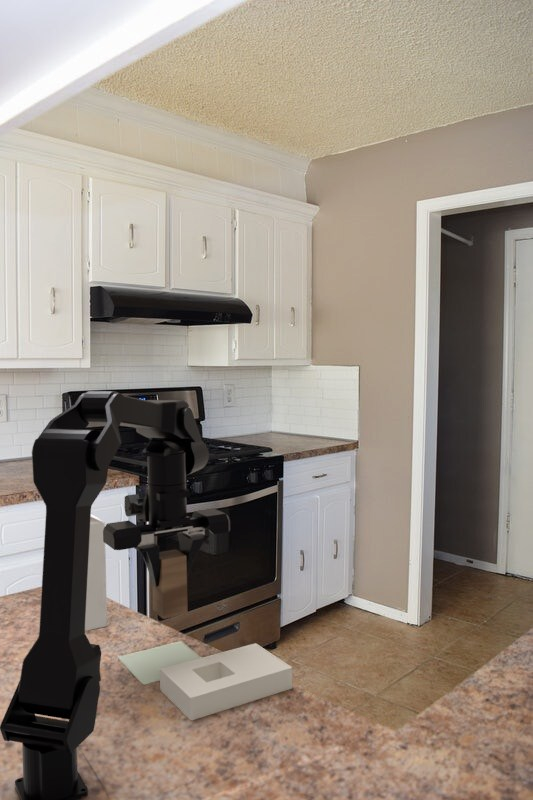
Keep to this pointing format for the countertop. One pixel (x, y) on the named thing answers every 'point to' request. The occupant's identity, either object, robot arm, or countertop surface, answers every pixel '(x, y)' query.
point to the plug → (171, 585)
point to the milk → (96, 577)
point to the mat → (156, 660)
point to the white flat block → (224, 680)
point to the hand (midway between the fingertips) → (169, 583)
